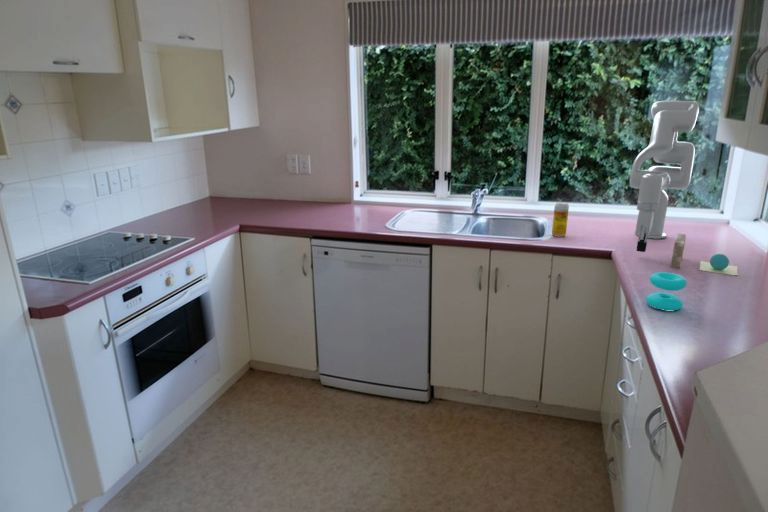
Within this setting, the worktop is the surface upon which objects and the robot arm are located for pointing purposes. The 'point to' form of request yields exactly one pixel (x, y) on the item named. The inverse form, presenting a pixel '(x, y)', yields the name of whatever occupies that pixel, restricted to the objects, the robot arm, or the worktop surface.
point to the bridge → (678, 250)
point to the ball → (719, 261)
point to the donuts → (666, 283)
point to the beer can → (560, 219)
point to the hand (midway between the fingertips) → (640, 250)
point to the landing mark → (728, 270)
